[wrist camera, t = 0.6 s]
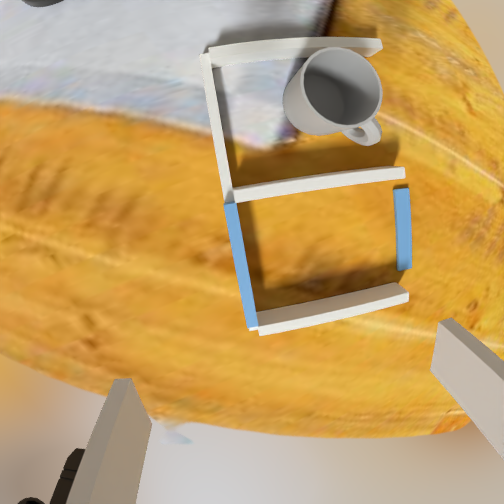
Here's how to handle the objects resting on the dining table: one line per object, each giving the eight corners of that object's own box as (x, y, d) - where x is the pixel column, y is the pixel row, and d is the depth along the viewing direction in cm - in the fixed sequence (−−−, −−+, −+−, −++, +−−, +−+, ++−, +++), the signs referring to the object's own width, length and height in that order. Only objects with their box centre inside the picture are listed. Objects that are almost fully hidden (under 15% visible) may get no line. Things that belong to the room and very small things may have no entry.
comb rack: (199, 60, 29) (196, 49, 25) (383, 48, 29) (397, 40, 26) (247, 322, 37) (249, 338, 34) (409, 286, 38) (423, 297, 34)
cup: (311, 61, 29) (337, 32, 21) (375, 123, 32) (417, 115, 23) (267, 104, 31) (281, 83, 22) (335, 167, 33) (370, 170, 24)
